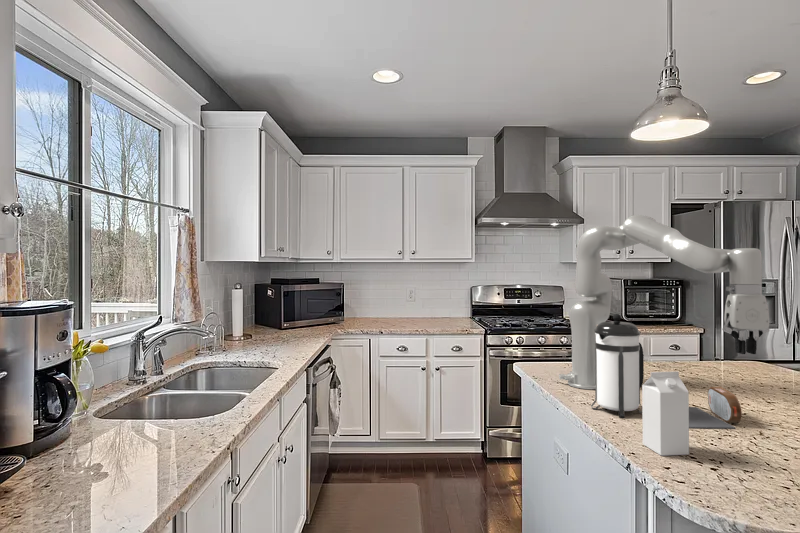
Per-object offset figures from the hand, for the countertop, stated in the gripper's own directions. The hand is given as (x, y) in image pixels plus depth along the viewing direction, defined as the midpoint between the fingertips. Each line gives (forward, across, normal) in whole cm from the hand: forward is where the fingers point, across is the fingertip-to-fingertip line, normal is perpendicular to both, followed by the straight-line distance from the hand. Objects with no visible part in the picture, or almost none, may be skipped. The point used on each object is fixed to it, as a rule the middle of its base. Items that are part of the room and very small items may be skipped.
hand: (745, 352), depth 134 cm
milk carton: (+19, -36, -24) cm, 47 cm away
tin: (+19, -6, 0) cm, 21 cm away
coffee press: (+19, -34, +7) cm, 39 cm away
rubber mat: (+19, -15, 0) cm, 24 cm away
